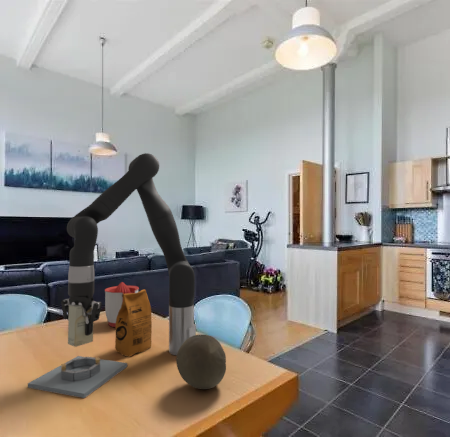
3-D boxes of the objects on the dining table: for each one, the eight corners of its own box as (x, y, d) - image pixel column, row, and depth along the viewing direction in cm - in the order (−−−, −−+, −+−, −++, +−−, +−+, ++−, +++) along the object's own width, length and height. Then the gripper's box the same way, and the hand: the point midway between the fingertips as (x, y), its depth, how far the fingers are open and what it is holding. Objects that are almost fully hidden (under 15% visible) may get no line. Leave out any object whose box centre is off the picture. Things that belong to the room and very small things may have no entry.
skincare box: (75, 347, 96) (75, 307, 96) (67, 344, 98) (67, 305, 98) (93, 341, 101) (94, 303, 101) (85, 338, 103) (86, 301, 103)
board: (127, 366, 106) (127, 362, 106) (84, 398, 87) (84, 393, 87) (78, 359, 111) (78, 355, 111) (27, 387, 92) (27, 383, 92)
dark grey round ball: (201, 372, 102) (201, 325, 102) (236, 386, 93) (235, 334, 93) (167, 390, 91) (167, 337, 91) (202, 408, 82) (202, 349, 82)
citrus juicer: (114, 333, 138) (114, 287, 139) (99, 323, 151) (99, 282, 152) (146, 325, 149) (146, 282, 149) (130, 317, 162) (130, 278, 162)
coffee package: (111, 351, 118) (111, 292, 118) (139, 342, 128) (139, 287, 128) (127, 358, 112) (127, 296, 112) (155, 347, 122) (155, 290, 122)
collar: (106, 367, 103) (106, 356, 103) (82, 383, 92) (82, 371, 92) (79, 362, 106) (79, 353, 106) (52, 378, 95) (52, 367, 95)
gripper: (108, 279, 101) (107, 332, 101) (72, 276, 105) (71, 327, 105) (92, 283, 94) (91, 340, 94) (53, 280, 98) (53, 335, 98)
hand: (80, 333), depth 99 cm, fingers closed on skincare box, 5 cm apart
